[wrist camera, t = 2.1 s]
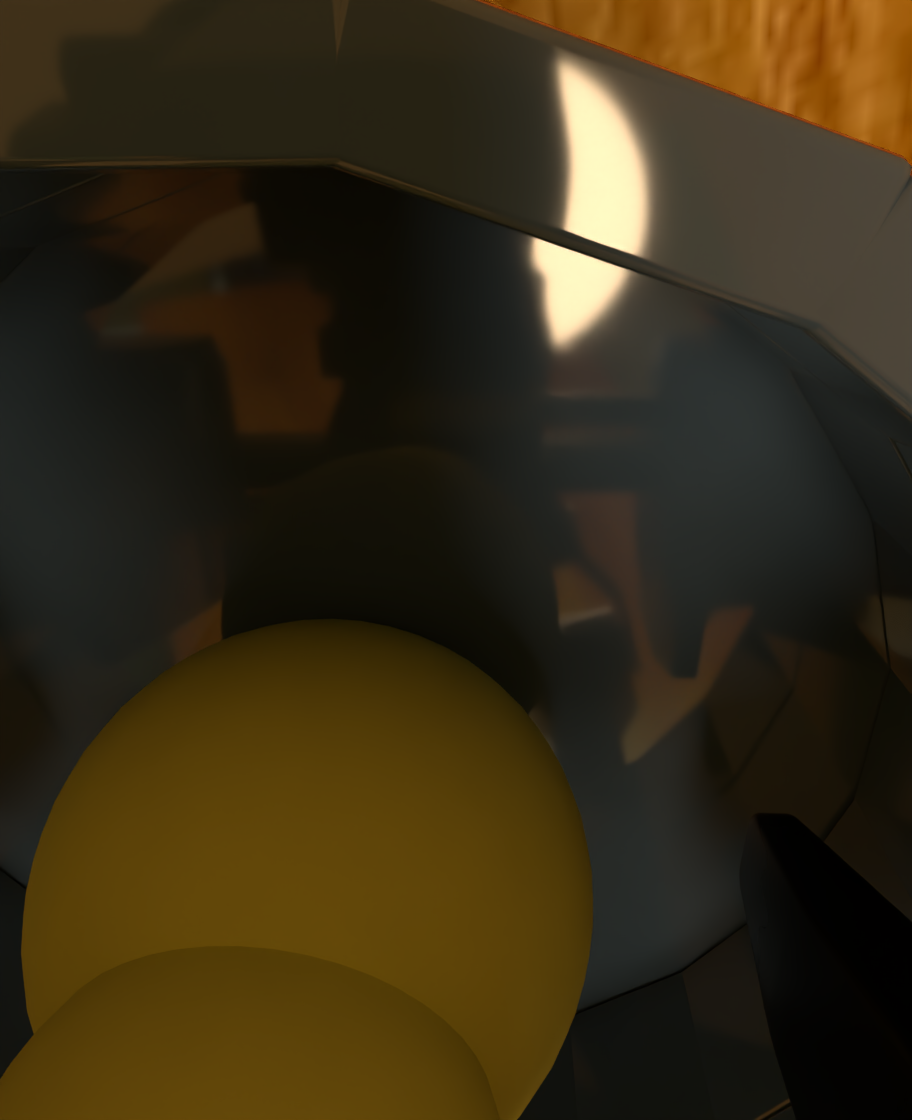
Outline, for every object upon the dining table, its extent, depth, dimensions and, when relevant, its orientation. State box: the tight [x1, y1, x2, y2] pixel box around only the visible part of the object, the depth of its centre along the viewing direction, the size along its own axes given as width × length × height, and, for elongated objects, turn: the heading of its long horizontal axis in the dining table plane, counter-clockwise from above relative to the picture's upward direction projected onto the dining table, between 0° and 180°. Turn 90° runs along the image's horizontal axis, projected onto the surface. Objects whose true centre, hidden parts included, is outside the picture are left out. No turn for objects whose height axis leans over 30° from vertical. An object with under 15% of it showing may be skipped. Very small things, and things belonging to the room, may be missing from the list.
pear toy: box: [0, 619, 593, 1120], centre depth 6 cm, size 5×5×9 cm
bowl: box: [0, 0, 912, 1120], centre depth 8 cm, size 14×14×6 cm
